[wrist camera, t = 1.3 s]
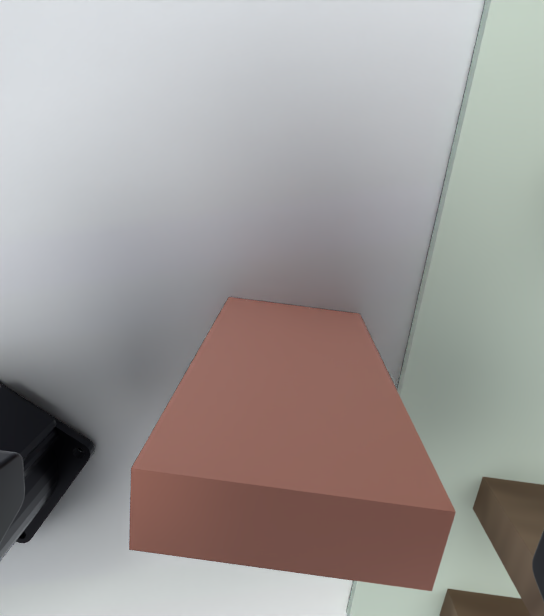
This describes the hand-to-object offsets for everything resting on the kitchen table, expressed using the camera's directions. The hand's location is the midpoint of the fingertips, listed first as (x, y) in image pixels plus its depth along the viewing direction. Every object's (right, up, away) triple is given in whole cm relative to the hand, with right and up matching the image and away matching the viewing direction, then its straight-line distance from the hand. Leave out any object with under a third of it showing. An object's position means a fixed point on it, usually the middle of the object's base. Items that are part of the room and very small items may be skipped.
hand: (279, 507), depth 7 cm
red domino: (+1, +3, +9) cm, 10 cm away
